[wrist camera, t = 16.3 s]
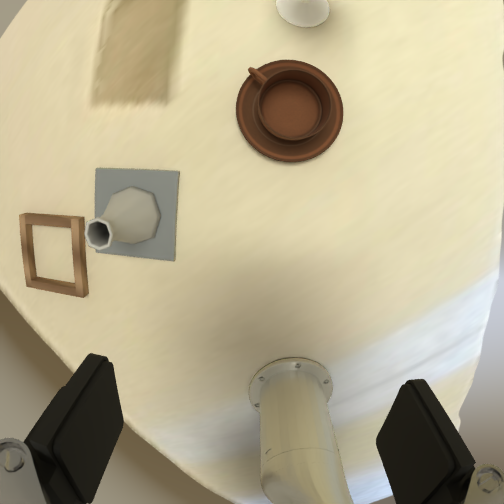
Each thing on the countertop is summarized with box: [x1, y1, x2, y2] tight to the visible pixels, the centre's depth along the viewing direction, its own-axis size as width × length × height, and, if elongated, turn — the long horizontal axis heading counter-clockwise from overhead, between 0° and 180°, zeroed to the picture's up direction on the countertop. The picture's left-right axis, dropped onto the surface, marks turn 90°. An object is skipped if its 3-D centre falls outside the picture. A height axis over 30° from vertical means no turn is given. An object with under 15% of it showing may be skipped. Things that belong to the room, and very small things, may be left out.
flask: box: [84, 186, 161, 251], centre depth 33 cm, size 7×7×10 cm
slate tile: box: [95, 168, 180, 261], centre depth 38 cm, size 11×11×1 cm
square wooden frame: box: [19, 213, 89, 298], centre depth 39 cm, size 11×11×2 cm
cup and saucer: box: [236, 60, 343, 162], centre depth 32 cm, size 12×12×6 cm
